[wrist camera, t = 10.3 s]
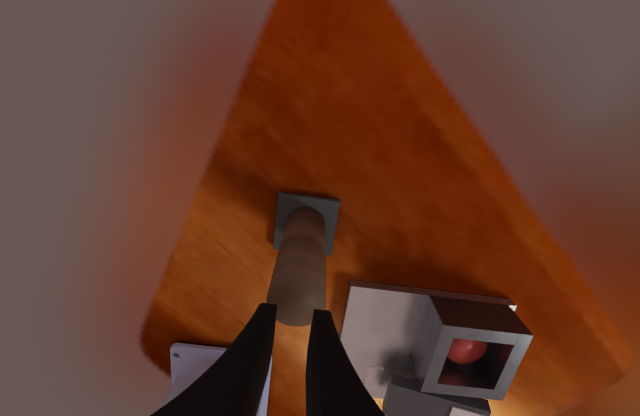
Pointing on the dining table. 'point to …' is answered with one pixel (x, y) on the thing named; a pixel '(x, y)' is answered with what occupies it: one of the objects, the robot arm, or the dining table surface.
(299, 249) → the dowel
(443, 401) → the block
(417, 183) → the dining table surface
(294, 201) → the pad
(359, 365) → the panel
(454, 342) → the button
